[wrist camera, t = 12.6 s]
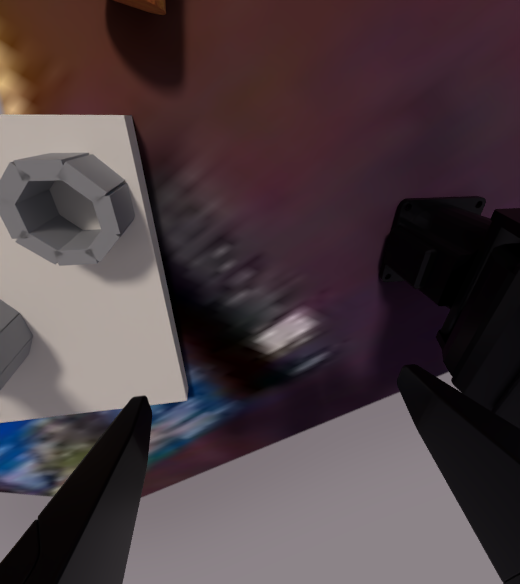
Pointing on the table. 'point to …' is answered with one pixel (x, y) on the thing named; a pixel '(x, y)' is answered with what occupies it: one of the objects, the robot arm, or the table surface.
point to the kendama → (147, 5)
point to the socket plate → (80, 272)
